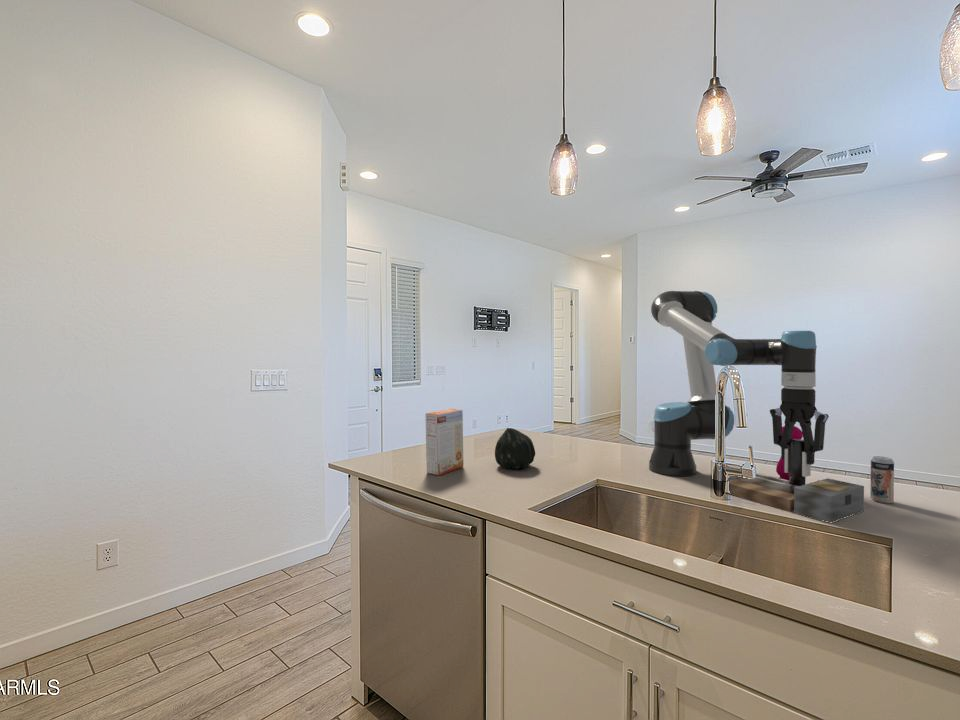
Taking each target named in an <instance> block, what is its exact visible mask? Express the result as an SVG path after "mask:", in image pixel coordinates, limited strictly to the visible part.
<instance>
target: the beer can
mask: <svg viewBox="0 0 960 720" xmlns="http://www.w3.org/2000/svg"><path fill="white" fill-rule="evenodd" d="M894 482H895V462H894V460H893V459H892V458H891V457H888V456H887V457H886V456H879V455H878V456H877V455H874V456H872V457H871V459H870V493H869V494H870V496H869V498H870V499H871V500H872V501H874V502H875V503H880V504H887V505H888V504H892V503H894V502H895V501H894V495H895V493H894V492H895V491H894V490H895V489H894V488H895V483H894Z"/></svg>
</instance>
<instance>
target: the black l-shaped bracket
mask: <svg viewBox="0 0 960 720" xmlns="http://www.w3.org/2000/svg"><path fill="white" fill-rule="evenodd" d="M804 450H805V445H804V439H801V440H800V439H789V481H785V482H783V483H785V484H789V485H792V491H793V492H794V488H795V487H798V486H802V485H805V484H806V480H807V479H806V477H803V476H802V452H804Z"/></svg>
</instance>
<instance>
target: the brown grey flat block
mask: <svg viewBox="0 0 960 720" xmlns="http://www.w3.org/2000/svg"><path fill="white" fill-rule="evenodd" d="M755 473H756V477H755V478H754V479H748V478H743V477H737V478H734V479H730V481H729V480H728V481H729V491H730V493H731V494H730V495H731V496H735V497H738V498H742V499H745V500H749V501H752V502H755V503H759V504H763V505H766V506H769V505H770V507H772V506H773V508H777V509H779V508H780V509H779V510H782V511H786V510H787V511H786V512H789V511H790V512H793V513H794V512H795V513H794V514H796V513H798V514H797V515H800V514H802V515H801V516H803V515H805V516H804V517H807V516H808V517H807V518H810V517H812V518H811V519H814V518H816V519H815V520H817V519H820V520H819V521H821V520H824V521H828V522H833V521H836V520H838V519H841V518H844V517H847V516H850V515H852V514H855V513H857V514H859V513H858V512H860V513H862V512H861V511H863V512H864V509H865V486H864V485H862V484H861V485H860V484H856V483H851V482H848V481H843V480H837V479H832V478H828V477H827V478H823V479H820V480H817V481H813V482H810V483H805V485H802V486H798V487H795V488H794V492H793V491H792V485H789V484H785V483H783V482H785V481H788V480H784V479H780V478H779V477H775V476H771V475H766V474H762V473H757V472H755ZM792 510H793V511H792ZM855 515H856V514H855ZM852 516H853V515H852ZM850 517H851V516H850ZM847 518H848V517H847ZM844 519H845V518H844ZM824 521H823V522H824ZM836 522H837V521H836Z"/></svg>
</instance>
